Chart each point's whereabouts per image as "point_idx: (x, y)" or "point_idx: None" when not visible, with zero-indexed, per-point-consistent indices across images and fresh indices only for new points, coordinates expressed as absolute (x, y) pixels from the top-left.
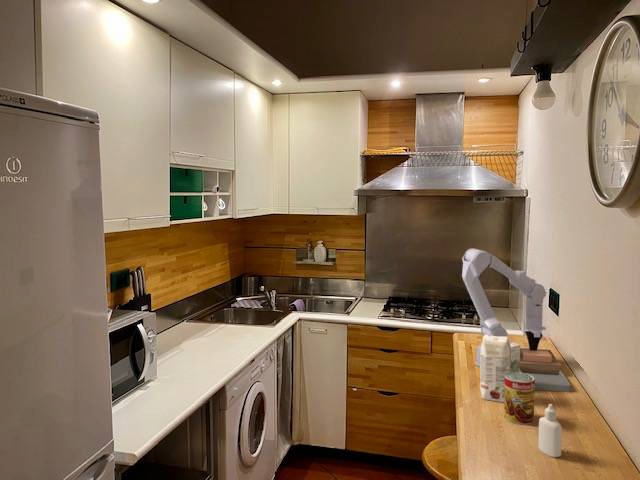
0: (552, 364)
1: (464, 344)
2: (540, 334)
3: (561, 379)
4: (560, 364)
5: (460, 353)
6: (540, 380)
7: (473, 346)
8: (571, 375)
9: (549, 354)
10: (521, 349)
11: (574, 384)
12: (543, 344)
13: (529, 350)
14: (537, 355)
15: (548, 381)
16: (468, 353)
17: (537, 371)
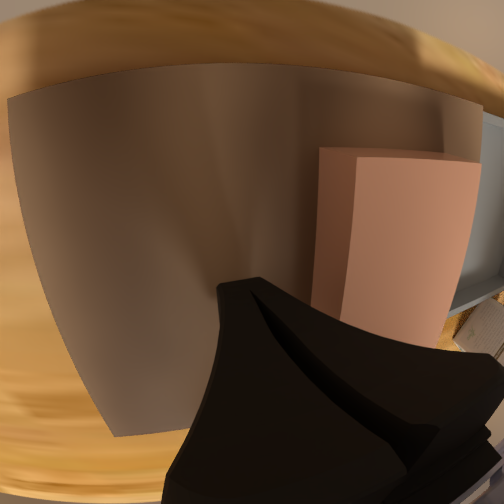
0: (476, 160)
1: (36, 491)
2: (471, 421)
3: None
4: (473, 103)
5: (157, 499)
6: (474, 222)
7: (36, 477)
8: (397, 27)
9: (447, 168)
10: (123, 384)
11: (485, 79)
12: None
13: None
14: (456, 276)
15: (483, 190)
16: (142, 489)
17: None
